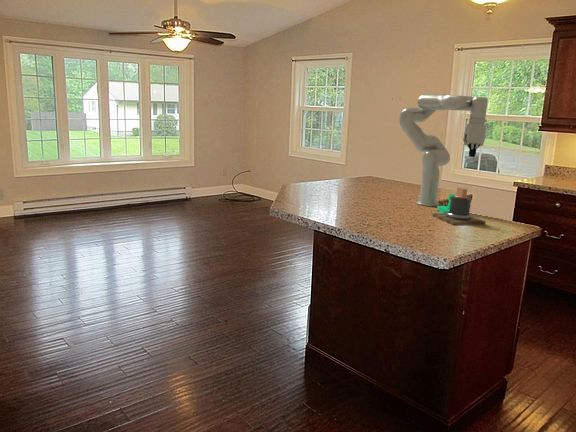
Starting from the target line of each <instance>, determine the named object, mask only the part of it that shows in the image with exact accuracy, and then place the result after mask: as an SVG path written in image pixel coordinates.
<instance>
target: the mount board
mask: <svg viewBox="0 0 576 432" xmlns="http://www.w3.org/2000/svg"><path fill="white" fill-rule="evenodd" d="M432 217H434V218H437V219H438V220H441V221H442V220H443V222H445V223H447V224H449V223H450V224H449V225H451V224H452V226H455V225H454V224H476V225H485V224H486V220H483V219H480V218H478V217H476V216H473V215H472V217H471V219H470V220H456V219H451V218H448V217H446V213H441V212H439V213H433V214H432Z"/></svg>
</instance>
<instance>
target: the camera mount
mask: <svg viewBox="0 0 576 432" xmlns="http://www.w3.org/2000/svg"><path fill="white" fill-rule="evenodd" d="M456 194H457V193H450V194H449V195H448V203H447V205H438V206H436V207H437V208H436V210H438V211H439V213H447V211H449V210H450V201H451V196H455V195H456Z"/></svg>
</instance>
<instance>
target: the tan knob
mask: <svg viewBox="0 0 576 432" xmlns="http://www.w3.org/2000/svg"><path fill="white" fill-rule="evenodd" d="M455 194H456V195H455V196H454V197H455V198H458V199H468V198H469V197H468V196H467V194H468V189H467V188H464V187H458V186H457V188H456V193H455Z"/></svg>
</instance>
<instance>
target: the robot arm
mask: <svg viewBox="0 0 576 432" xmlns="http://www.w3.org/2000/svg"><path fill="white" fill-rule="evenodd" d="M488 102H489V99H488V98H487V97H484V96H472V95H471V96H470V95H448V94H447V95H446V94H440V93H439V94H436V93H435V94H434V93H433V94H431V93H429V94H428V93H426V94H425V93H424V94H422V95H420V96H419V97H418V98H417V105H418V107H406V108H404V109H402V111H401V112H400V115H399V120H398V121H399V125H400V128H401V129H402V131H403V132H404V134H405V135H407V137H408V139H409V140H410V141H411V143H412V145H413V146H414V147H415V148H416V150H417V151H418V152H420V153H423V155H422V157H421V163H422V164H421V165H422V173H421V181H420V193H419V195H418V197H417V198H418V200H416V204H417V205H419V206H423V207H425V206H426V207H437V206H440V203H439V202H437V200H438V191H439V183H440V169H439V167H442V166H446V165H448V164H449V162H450V160H451V157H450V153H449V151H448V149H447V148H446V147H445V145H444V144H443V142H442V141H441V140H440V139H439V138H438V137H437V136H436V135H431V134H429V135H428V134H427V133H425V132H424V131H423V129H422V128H421V127H420V126H419V125H418V124H417V123H423V122H425V121H426V120H427V119H429V118H430V117H431V116H432V115H433V114H434V113H435V112H436V111H445V110H446V111H462V112H463V111H465V112H470V114H469V121H468V123H467V124H466V127H465V129H464V133H463V138H462V141H463V145H464V146H467V147H468V149H469V151H468V157H471V158H476V155H477V154H476V153H477V150H478V148H479V147H483V146H484V144H485V140H486V131H487V130H486V124H485V123H487V122H488V120H487V119H486V116H487V109H488Z"/></svg>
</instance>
